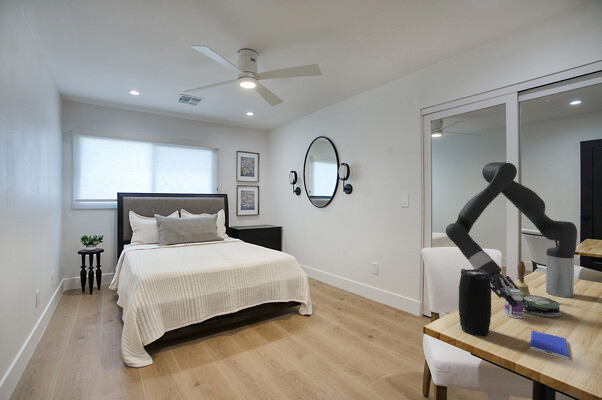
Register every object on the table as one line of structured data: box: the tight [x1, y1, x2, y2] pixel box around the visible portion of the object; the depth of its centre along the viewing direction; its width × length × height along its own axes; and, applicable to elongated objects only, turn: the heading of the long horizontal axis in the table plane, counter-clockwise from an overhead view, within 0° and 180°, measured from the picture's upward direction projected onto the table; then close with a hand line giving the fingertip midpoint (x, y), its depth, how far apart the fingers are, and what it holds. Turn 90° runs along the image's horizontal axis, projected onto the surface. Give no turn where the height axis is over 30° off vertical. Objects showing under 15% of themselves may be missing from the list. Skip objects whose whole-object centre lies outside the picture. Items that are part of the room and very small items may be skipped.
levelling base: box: [520, 294, 562, 319], centre depth 108 cm, size 14×14×4 cm
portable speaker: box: [458, 268, 492, 336], centre depth 91 cm, size 9×9×20 cm
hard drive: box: [529, 330, 570, 360], centre depth 82 cm, size 2×8×12 cm
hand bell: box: [515, 260, 532, 295], centre depth 123 cm, size 8×8×16 cm
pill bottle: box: [504, 287, 524, 319], centre depth 103 cm, size 5×5×10 cm
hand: (519, 304), depth 102 cm, fingers closed on pill bottle, 5 cm apart
